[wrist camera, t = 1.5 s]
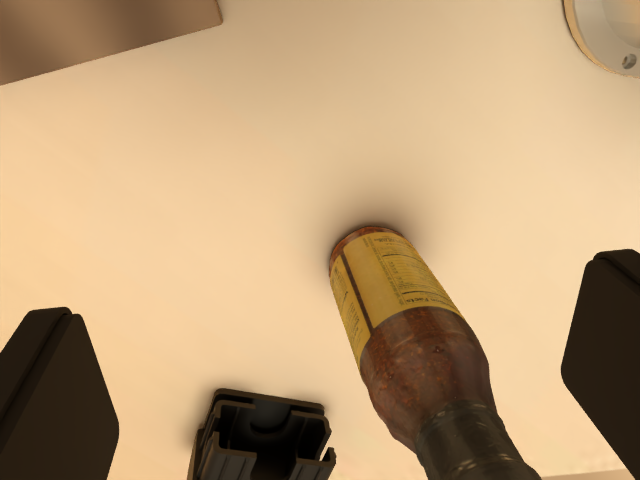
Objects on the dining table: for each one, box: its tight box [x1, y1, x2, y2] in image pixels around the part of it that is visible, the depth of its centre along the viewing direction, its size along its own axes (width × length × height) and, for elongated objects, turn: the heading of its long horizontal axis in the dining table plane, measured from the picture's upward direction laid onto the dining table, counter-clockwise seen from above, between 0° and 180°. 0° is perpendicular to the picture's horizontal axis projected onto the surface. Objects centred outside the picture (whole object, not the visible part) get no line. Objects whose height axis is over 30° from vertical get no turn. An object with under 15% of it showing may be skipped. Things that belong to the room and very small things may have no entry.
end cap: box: [187, 389, 336, 480], centre depth 38 cm, size 10×7×7 cm
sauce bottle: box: [329, 226, 542, 480], centre depth 26 cm, size 6×6×20 cm
